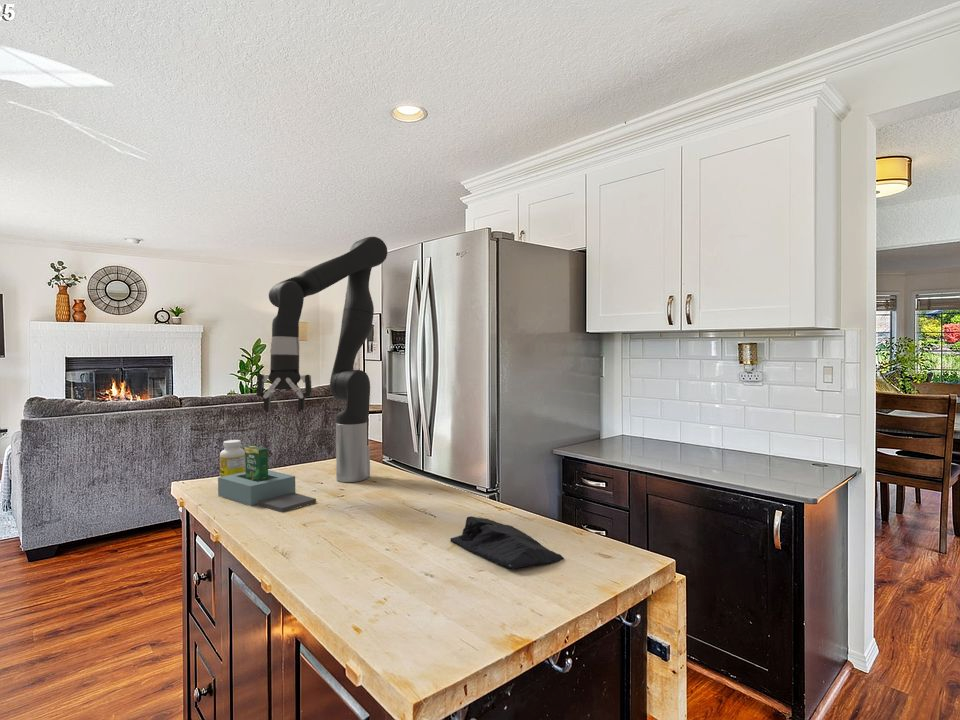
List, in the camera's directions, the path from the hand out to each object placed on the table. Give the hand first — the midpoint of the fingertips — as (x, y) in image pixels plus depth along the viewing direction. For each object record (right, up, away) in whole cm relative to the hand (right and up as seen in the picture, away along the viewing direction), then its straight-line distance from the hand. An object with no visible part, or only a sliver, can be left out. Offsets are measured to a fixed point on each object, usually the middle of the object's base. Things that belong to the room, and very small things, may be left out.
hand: (284, 412), depth 148 cm
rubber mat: (+5, -22, -11) cm, 26 cm away
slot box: (-6, -22, -3) cm, 23 cm away
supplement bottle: (-18, -22, +8) cm, 30 cm away
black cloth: (+59, -24, -42) cm, 77 cm away
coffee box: (-6, -23, -3) cm, 24 cm away
